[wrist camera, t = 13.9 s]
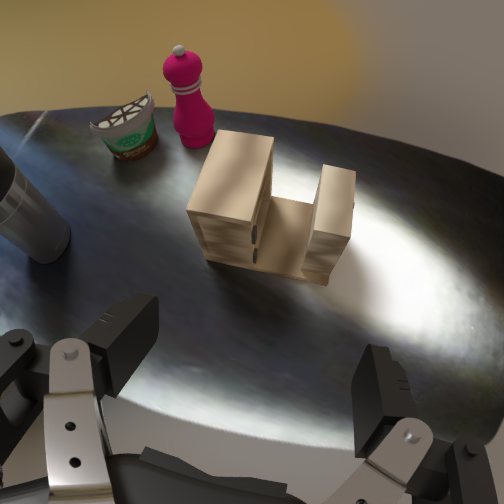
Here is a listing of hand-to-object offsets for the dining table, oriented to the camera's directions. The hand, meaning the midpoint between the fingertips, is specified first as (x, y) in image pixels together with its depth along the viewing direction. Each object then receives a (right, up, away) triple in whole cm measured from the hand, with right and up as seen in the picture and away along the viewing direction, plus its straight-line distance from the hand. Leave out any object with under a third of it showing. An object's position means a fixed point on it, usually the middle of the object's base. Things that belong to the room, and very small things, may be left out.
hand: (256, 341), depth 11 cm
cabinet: (+3, +6, +36) cm, 37 cm away
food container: (-21, +22, +44) cm, 53 cm away
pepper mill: (-10, +24, +45) cm, 52 cm away
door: (+9, +4, +34) cm, 36 cm away
